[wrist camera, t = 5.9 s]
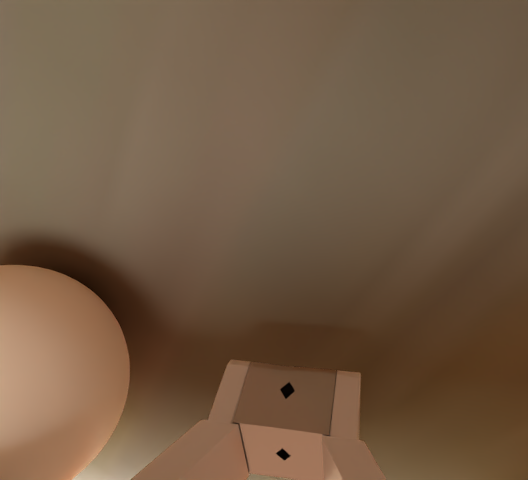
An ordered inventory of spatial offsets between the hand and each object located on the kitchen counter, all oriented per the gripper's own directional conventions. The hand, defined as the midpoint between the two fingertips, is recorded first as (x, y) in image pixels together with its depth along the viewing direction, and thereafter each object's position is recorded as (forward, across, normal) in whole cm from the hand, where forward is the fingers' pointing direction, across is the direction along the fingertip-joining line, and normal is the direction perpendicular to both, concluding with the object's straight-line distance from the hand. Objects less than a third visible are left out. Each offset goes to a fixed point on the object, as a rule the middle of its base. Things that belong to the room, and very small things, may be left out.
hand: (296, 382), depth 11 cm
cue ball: (-1, +7, 0) cm, 7 cm away
